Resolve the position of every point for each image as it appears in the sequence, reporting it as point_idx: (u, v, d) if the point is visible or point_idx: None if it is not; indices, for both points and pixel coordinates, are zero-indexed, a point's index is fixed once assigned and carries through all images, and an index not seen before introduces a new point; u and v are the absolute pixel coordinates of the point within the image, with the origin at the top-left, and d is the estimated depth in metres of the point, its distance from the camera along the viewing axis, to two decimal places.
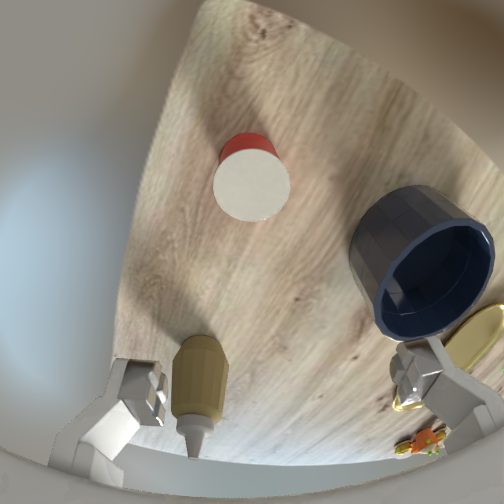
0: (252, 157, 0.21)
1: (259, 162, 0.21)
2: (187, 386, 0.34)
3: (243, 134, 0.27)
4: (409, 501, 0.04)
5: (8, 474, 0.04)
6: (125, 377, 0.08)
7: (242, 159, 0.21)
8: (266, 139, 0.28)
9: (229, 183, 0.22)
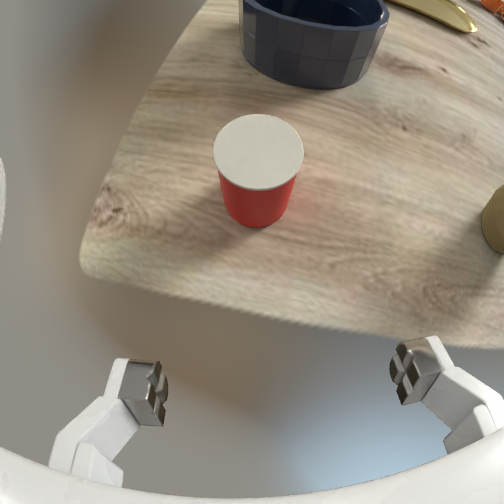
0: (222, 153, 0.18)
1: (227, 145, 0.19)
2: None
3: (225, 205, 0.26)
4: (409, 501, 0.04)
5: (8, 474, 0.04)
6: (125, 377, 0.08)
7: (226, 162, 0.18)
8: None
9: (258, 171, 0.18)
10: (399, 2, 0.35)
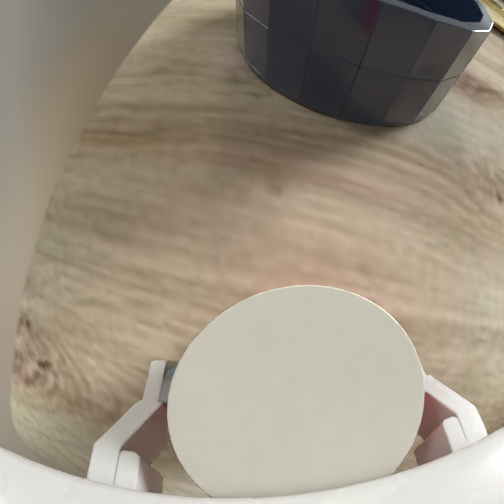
0: (197, 436, 0.05)
1: (210, 413, 0.06)
2: None
3: None
4: (409, 501, 0.04)
5: (8, 474, 0.04)
6: (165, 379, 0.08)
7: (211, 463, 0.05)
8: None
9: (303, 484, 0.05)
10: None
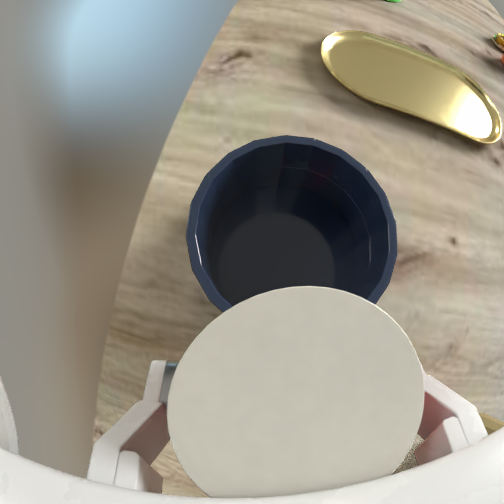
0: (197, 437, 0.05)
1: (210, 414, 0.06)
2: None
3: None
4: (409, 501, 0.04)
5: (8, 474, 0.04)
6: (165, 379, 0.08)
7: (211, 464, 0.05)
8: None
9: (303, 484, 0.05)
10: (414, 115, 0.35)
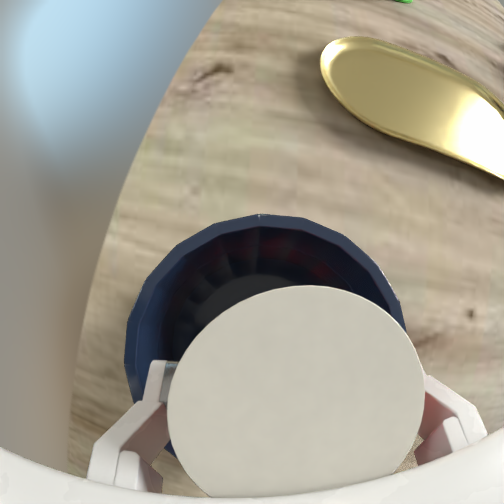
0: (197, 437, 0.05)
1: (210, 414, 0.06)
2: None
3: None
4: (409, 501, 0.04)
5: (8, 474, 0.04)
6: (165, 379, 0.08)
7: (211, 464, 0.05)
8: None
9: (303, 484, 0.05)
10: (435, 150, 0.28)
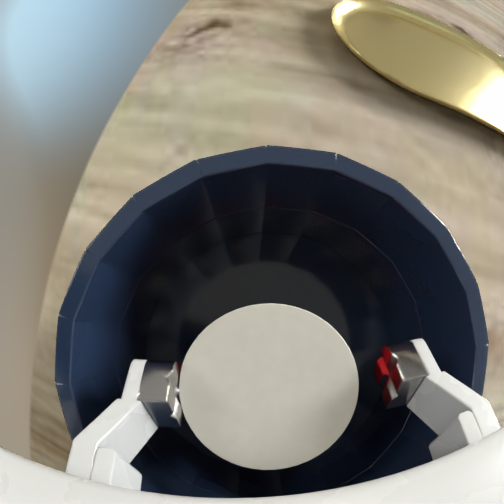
0: (198, 402, 0.09)
1: (206, 386, 0.09)
2: None
3: None
4: (409, 501, 0.04)
5: (8, 474, 0.04)
6: (144, 378, 0.08)
7: (207, 421, 0.09)
8: None
9: (268, 440, 0.08)
10: (468, 115, 0.21)
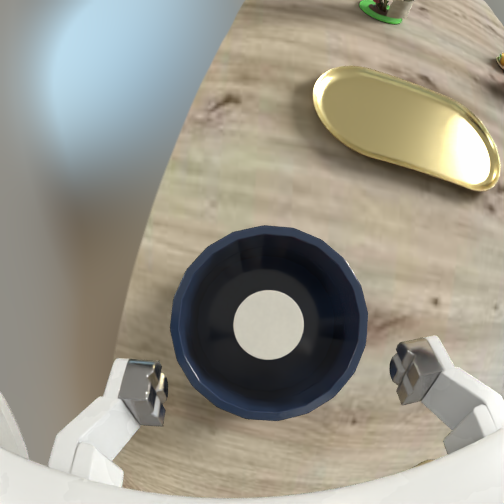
0: (241, 329, 0.24)
1: (244, 322, 0.24)
2: None
3: None
4: (409, 501, 0.04)
5: (8, 474, 0.04)
6: (125, 377, 0.08)
7: (244, 337, 0.24)
8: None
9: (268, 345, 0.24)
10: (407, 167, 0.36)
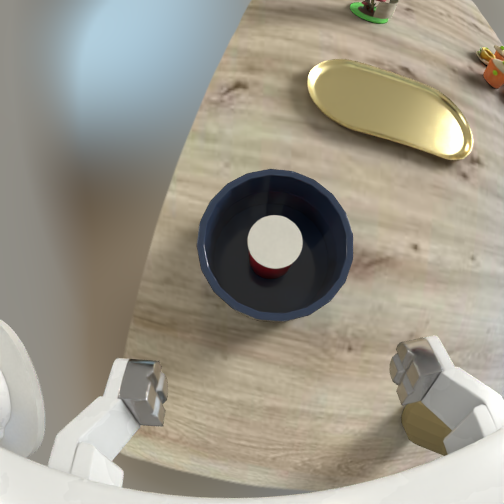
0: (253, 244, 0.32)
1: (256, 239, 0.32)
2: (431, 445, 0.25)
3: (250, 264, 0.39)
4: (409, 501, 0.04)
5: (8, 474, 0.04)
6: (125, 377, 0.08)
7: (256, 250, 0.31)
8: None
9: (275, 256, 0.31)
10: (386, 139, 0.44)
